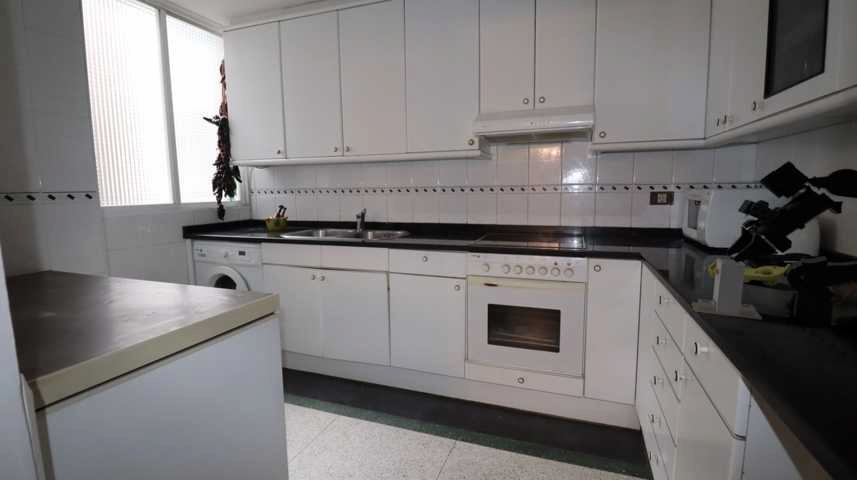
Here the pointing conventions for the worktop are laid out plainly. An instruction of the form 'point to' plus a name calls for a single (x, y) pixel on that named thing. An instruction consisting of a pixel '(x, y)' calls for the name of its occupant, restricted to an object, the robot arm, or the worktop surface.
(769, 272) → the plastic component
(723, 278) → the block
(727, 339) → the worktop surface
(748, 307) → the rail
